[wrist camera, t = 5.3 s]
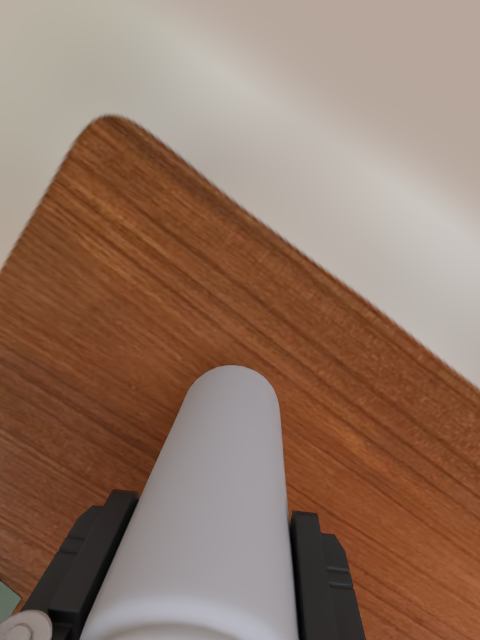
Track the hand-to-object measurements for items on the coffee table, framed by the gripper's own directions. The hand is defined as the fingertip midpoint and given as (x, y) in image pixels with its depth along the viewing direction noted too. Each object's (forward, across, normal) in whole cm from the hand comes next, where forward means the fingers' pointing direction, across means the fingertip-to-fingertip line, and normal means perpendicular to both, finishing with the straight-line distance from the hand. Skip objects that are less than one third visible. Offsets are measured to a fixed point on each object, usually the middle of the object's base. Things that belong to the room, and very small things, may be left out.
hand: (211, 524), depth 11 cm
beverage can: (+8, 0, 0) cm, 8 cm away
